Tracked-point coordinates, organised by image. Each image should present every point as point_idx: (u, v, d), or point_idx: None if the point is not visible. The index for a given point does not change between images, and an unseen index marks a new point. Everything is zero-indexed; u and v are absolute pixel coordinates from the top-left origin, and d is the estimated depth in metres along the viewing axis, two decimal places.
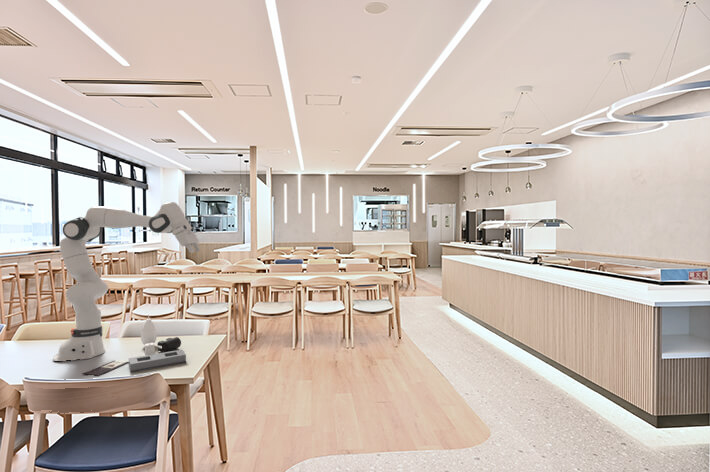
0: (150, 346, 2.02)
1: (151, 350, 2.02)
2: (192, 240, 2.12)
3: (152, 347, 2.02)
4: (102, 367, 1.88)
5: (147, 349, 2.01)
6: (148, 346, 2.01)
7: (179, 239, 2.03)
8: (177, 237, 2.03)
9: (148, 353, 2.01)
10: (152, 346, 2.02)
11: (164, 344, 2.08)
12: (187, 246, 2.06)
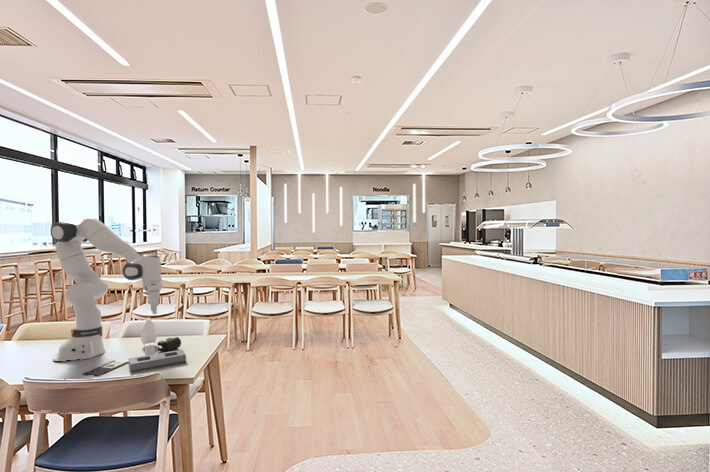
0: (150, 346, 2.02)
1: (151, 350, 2.02)
2: None
3: (152, 347, 2.02)
4: (102, 367, 1.88)
5: (147, 349, 2.01)
6: (148, 346, 2.01)
7: (152, 298, 1.94)
8: (150, 295, 1.94)
9: (148, 353, 2.01)
10: (152, 346, 2.02)
11: (164, 344, 2.08)
12: (153, 306, 1.97)
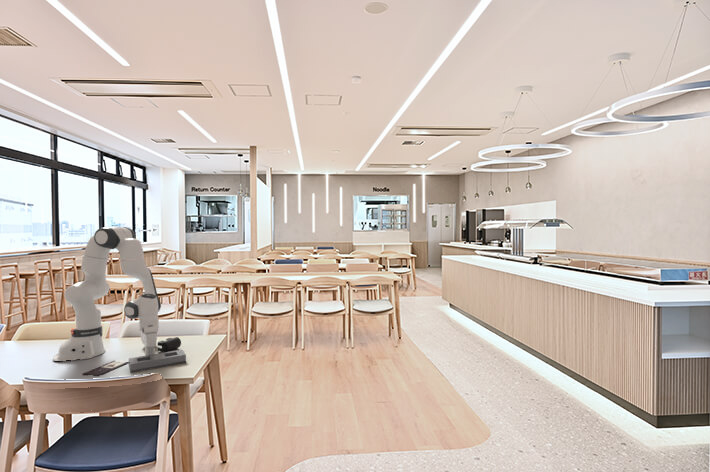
0: None
1: None
2: None
3: None
4: (102, 367, 1.88)
5: (147, 349, 2.01)
6: None
7: (149, 340, 1.94)
8: (148, 338, 1.94)
9: None
10: None
11: (164, 344, 2.08)
12: None
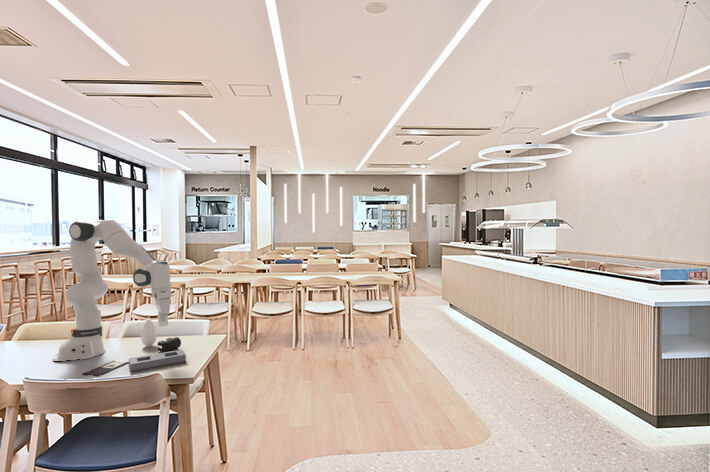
0: None
1: None
2: None
3: None
4: (102, 367, 1.88)
5: (160, 316, 1.96)
6: None
7: (162, 306, 1.89)
8: (161, 303, 1.89)
9: (161, 320, 1.96)
10: None
11: (164, 344, 2.08)
12: (163, 314, 1.94)
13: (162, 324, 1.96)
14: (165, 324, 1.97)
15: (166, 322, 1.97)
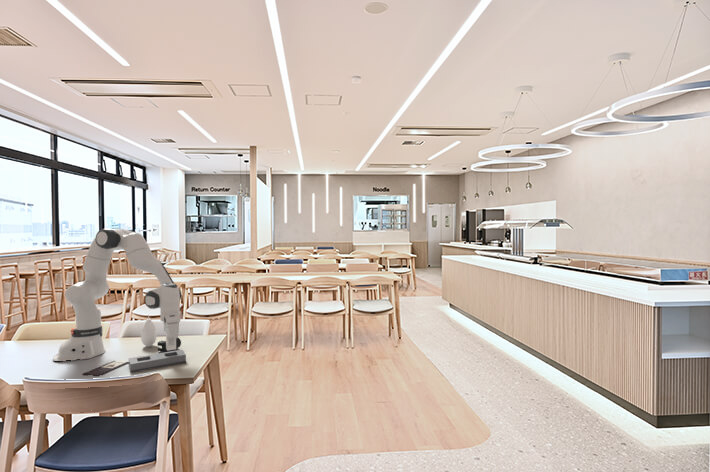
0: None
1: None
2: None
3: None
4: (102, 367, 1.88)
5: (169, 340, 1.94)
6: None
7: (171, 331, 1.87)
8: (170, 328, 1.87)
9: None
10: None
11: (164, 344, 2.08)
12: None
13: (170, 348, 1.94)
14: (173, 348, 1.95)
15: (174, 346, 1.95)
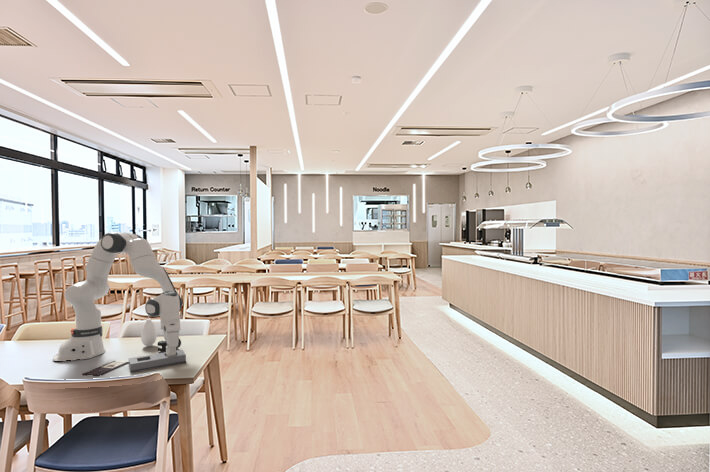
0: None
1: None
2: None
3: None
4: (102, 367, 1.88)
5: (169, 351, 1.94)
6: None
7: (171, 339, 1.87)
8: (170, 337, 1.87)
9: (170, 355, 1.94)
10: None
11: (164, 344, 2.08)
12: (172, 347, 1.90)
13: None
14: None
15: None
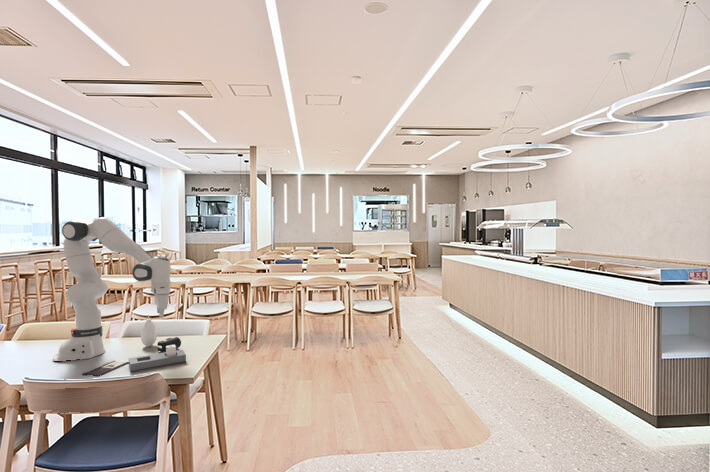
0: (172, 348, 1.94)
1: (173, 352, 1.95)
2: None
3: (174, 349, 1.95)
4: (102, 367, 1.88)
5: (169, 351, 1.94)
6: (170, 348, 1.94)
7: (160, 301, 1.94)
8: (159, 299, 1.94)
9: (170, 355, 1.94)
10: (174, 348, 1.95)
11: (164, 344, 2.08)
12: (161, 309, 1.97)
13: None
14: None
15: None
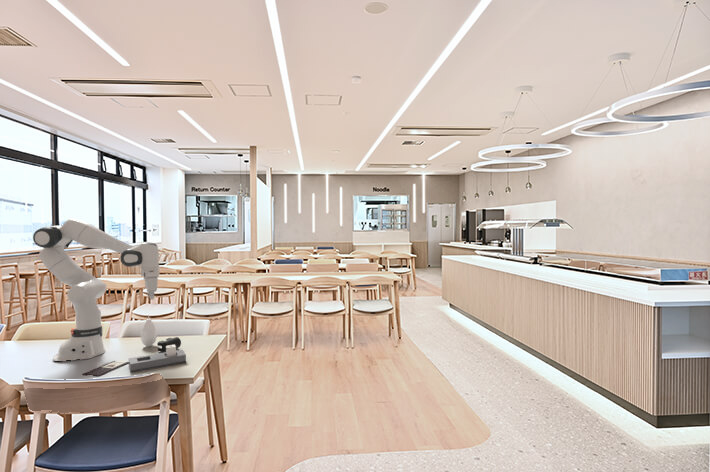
0: (172, 348, 1.94)
1: (173, 352, 1.95)
2: None
3: (174, 349, 1.95)
4: (102, 367, 1.88)
5: (169, 351, 1.94)
6: (170, 348, 1.94)
7: (150, 284, 2.03)
8: (149, 281, 2.03)
9: (170, 355, 1.94)
10: (174, 348, 1.95)
11: (164, 344, 2.08)
12: (151, 292, 2.06)
13: None
14: None
15: None
